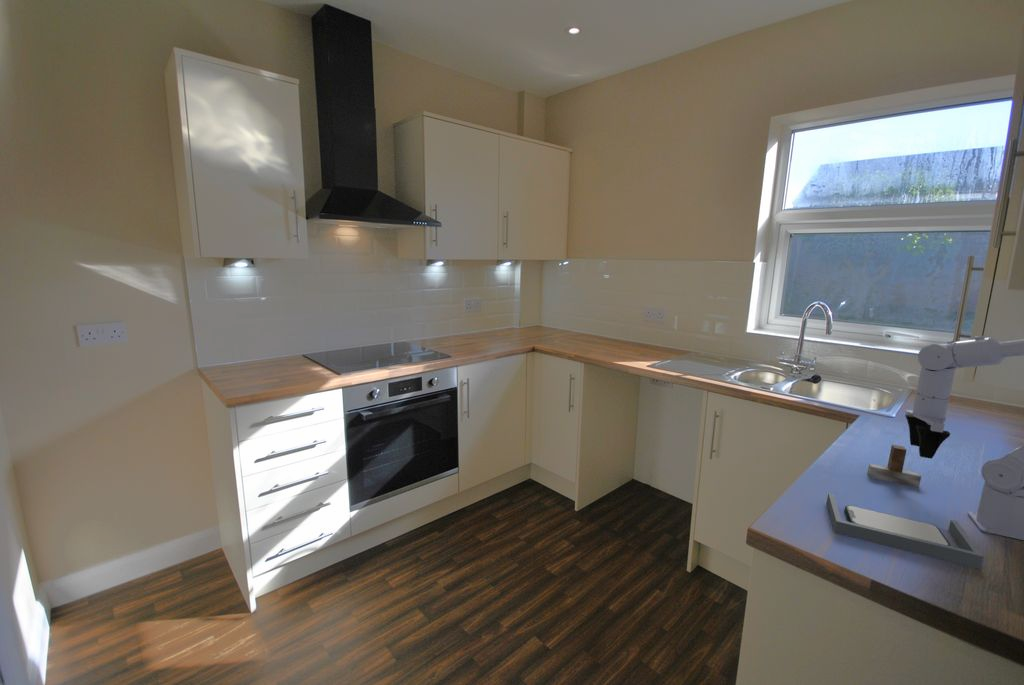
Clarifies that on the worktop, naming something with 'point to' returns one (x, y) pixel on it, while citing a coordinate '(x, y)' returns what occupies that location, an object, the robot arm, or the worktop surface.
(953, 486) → the worktop surface
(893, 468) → the scraper
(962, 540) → the dock
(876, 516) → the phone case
